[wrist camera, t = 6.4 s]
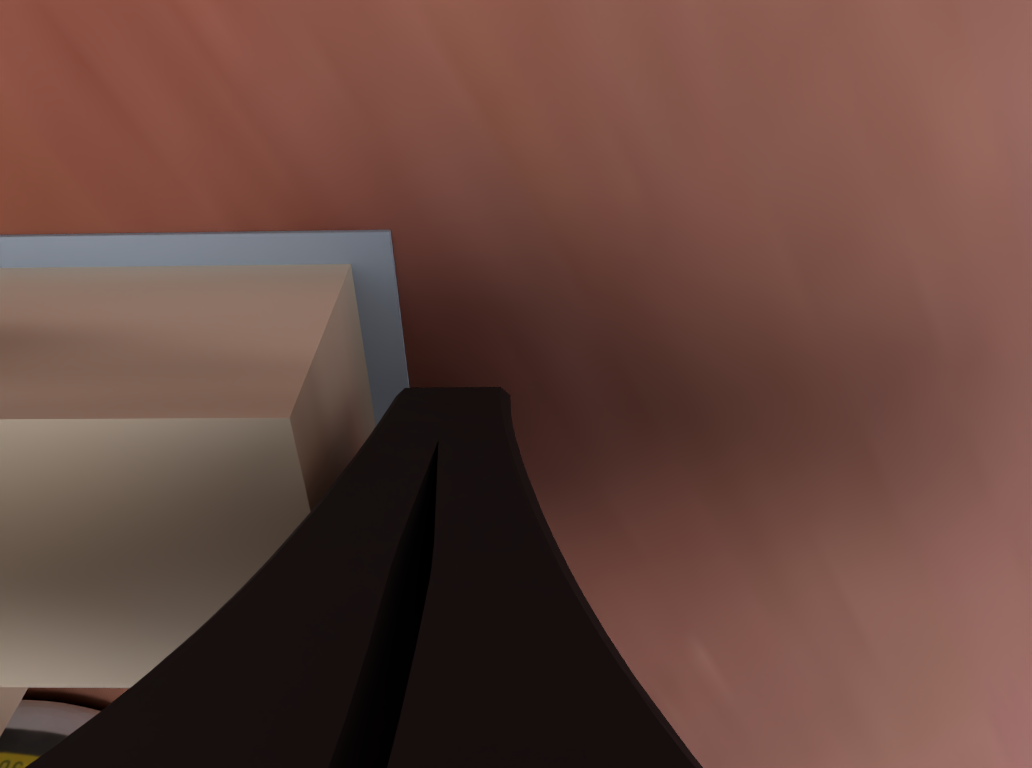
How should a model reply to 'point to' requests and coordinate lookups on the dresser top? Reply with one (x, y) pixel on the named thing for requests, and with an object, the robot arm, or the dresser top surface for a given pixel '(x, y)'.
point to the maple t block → (159, 451)
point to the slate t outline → (353, 247)
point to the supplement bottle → (39, 730)
